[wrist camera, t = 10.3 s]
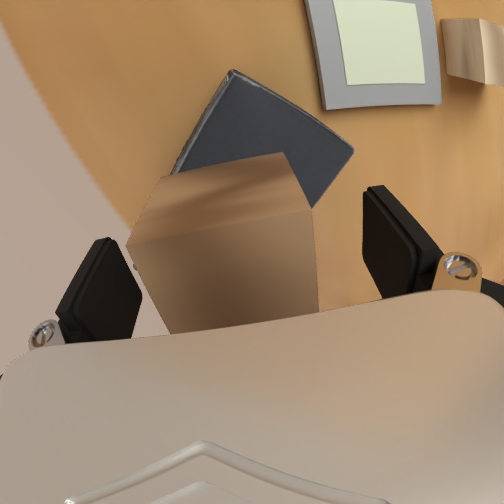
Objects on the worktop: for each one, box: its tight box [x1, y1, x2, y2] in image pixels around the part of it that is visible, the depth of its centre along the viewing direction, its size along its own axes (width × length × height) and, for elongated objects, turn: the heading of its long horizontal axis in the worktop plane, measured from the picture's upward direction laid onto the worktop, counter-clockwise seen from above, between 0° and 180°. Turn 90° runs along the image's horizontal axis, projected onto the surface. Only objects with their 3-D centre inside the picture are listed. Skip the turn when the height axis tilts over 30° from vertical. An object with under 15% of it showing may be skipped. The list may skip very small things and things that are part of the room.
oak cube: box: [441, 19, 504, 86], centre depth 15 cm, size 5×5×5 cm
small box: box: [133, 69, 355, 271], centre depth 18 cm, size 11×6×10 cm, turn 149°
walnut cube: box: [126, 152, 319, 334], centre depth 11 cm, size 5×5×5 cm
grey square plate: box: [304, 0, 442, 110], centre depth 17 cm, size 10×10×1 cm
